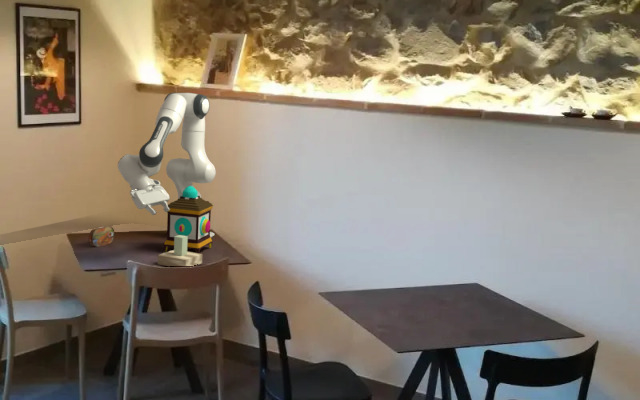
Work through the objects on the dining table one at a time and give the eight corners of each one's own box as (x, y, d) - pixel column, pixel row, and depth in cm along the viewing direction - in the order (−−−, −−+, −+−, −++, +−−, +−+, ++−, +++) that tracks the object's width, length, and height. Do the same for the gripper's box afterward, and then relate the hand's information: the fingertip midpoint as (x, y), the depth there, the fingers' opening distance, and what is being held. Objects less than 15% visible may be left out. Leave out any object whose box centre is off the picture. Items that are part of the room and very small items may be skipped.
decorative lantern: (159, 252, 350) (160, 186, 345) (176, 243, 369) (178, 181, 364) (200, 257, 346) (202, 191, 341) (216, 247, 365) (218, 185, 360)
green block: (179, 252, 335) (179, 234, 333) (187, 254, 333) (187, 236, 332) (173, 254, 331) (174, 236, 330) (181, 256, 329) (182, 237, 328)
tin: (92, 248, 349) (93, 230, 348) (87, 247, 351) (87, 229, 349) (115, 242, 363) (115, 225, 361) (109, 241, 364) (110, 224, 363)
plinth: (175, 258, 341) (175, 249, 340) (202, 263, 336) (202, 254, 335) (157, 264, 329) (157, 255, 329) (185, 269, 324) (185, 260, 323)
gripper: (132, 185, 324) (151, 211, 322) (161, 180, 343) (179, 204, 341) (123, 194, 327) (142, 220, 325) (152, 189, 345) (170, 213, 343)
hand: (161, 212), depth 333 cm, fingers open, 8 cm apart
